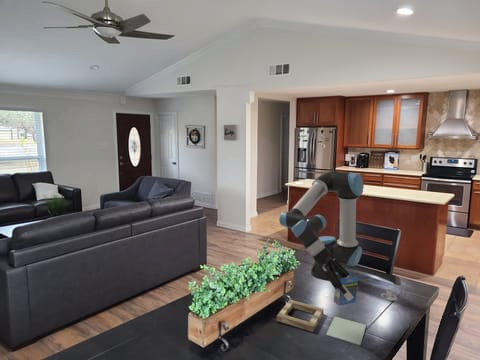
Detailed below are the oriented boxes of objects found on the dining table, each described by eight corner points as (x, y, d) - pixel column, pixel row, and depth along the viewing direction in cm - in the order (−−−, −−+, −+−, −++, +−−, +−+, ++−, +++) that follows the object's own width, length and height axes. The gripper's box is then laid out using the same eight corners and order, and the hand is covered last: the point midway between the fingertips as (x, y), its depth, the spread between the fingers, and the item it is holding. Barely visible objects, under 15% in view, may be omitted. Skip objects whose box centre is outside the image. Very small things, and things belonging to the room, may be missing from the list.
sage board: (334, 317, 158) (334, 316, 158) (366, 326, 151) (366, 325, 151) (326, 335, 144) (326, 334, 144) (360, 345, 137) (360, 344, 137)
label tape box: (350, 298, 149) (352, 272, 148) (356, 303, 146) (358, 276, 144) (333, 301, 146) (335, 275, 144) (339, 306, 143) (341, 279, 141)
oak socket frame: (289, 304, 169) (289, 299, 168) (323, 313, 161) (323, 308, 161) (276, 320, 154) (276, 315, 154) (313, 331, 146) (313, 326, 146)
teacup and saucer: (394, 303, 173) (395, 296, 172) (378, 298, 177) (379, 291, 177) (398, 297, 180) (399, 289, 179) (383, 292, 184) (383, 285, 184)
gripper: (319, 248, 160) (351, 288, 155) (304, 264, 141) (340, 310, 136) (331, 240, 157) (364, 280, 151) (318, 254, 138) (355, 301, 133)
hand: (353, 294), depth 144 cm, fingers closed on label tape box, 9 cm apart
